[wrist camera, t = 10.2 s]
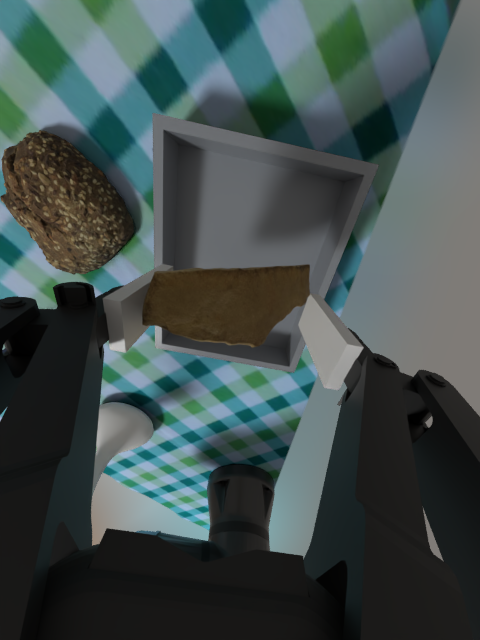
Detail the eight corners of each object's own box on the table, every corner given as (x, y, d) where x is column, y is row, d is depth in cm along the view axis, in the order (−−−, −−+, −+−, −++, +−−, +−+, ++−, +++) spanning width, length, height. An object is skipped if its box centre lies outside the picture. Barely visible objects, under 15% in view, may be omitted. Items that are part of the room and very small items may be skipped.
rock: (359, 236, 12) (197, 156, 10) (376, 381, 9) (129, 314, 6) (272, 307, 22) (179, 276, 19) (264, 390, 18) (148, 365, 16)
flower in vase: (161, 405, 36) (23, 700, 14) (153, 441, 42) (42, 698, 19) (87, 386, 35) (-194, 679, 13) (88, 425, 40) (-111, 683, 18)
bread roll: (151, 238, 24) (128, 243, 19) (77, 282, 27) (43, 296, 22) (65, 104, 19) (7, 69, 14) (-14, 177, 22) (-82, 168, 17)
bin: (288, 351, 30) (293, 372, 26) (168, 329, 29) (155, 347, 25) (353, 174, 20) (379, 164, 16) (173, 134, 19) (152, 112, 15)
